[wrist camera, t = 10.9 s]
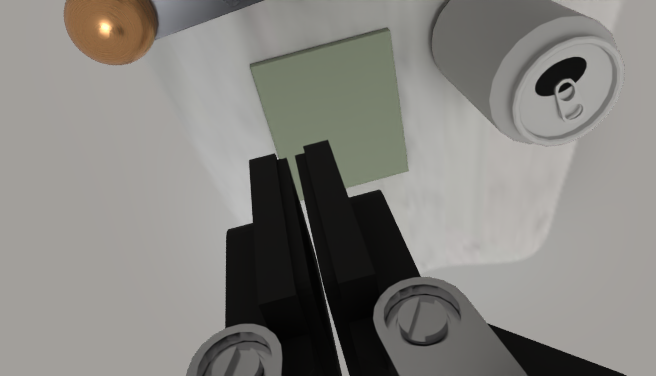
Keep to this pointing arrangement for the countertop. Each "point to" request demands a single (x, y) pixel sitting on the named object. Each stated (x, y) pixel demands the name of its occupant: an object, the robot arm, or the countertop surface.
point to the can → (530, 66)
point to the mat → (337, 106)
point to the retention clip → (135, 24)
